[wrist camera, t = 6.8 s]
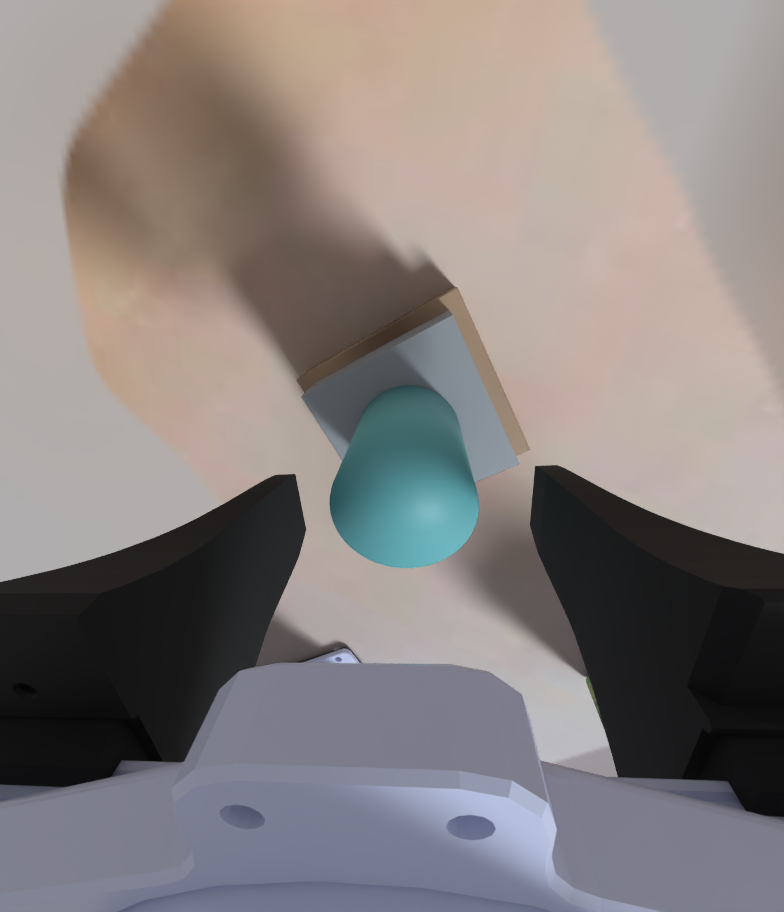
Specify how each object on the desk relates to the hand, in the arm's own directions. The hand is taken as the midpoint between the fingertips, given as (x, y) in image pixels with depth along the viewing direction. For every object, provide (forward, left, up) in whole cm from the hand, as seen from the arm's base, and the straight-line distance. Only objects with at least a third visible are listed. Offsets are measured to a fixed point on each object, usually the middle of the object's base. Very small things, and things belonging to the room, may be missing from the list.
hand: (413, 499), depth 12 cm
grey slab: (0, 0, -8) cm, 8 cm away
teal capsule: (0, 0, -6) cm, 6 cm away
